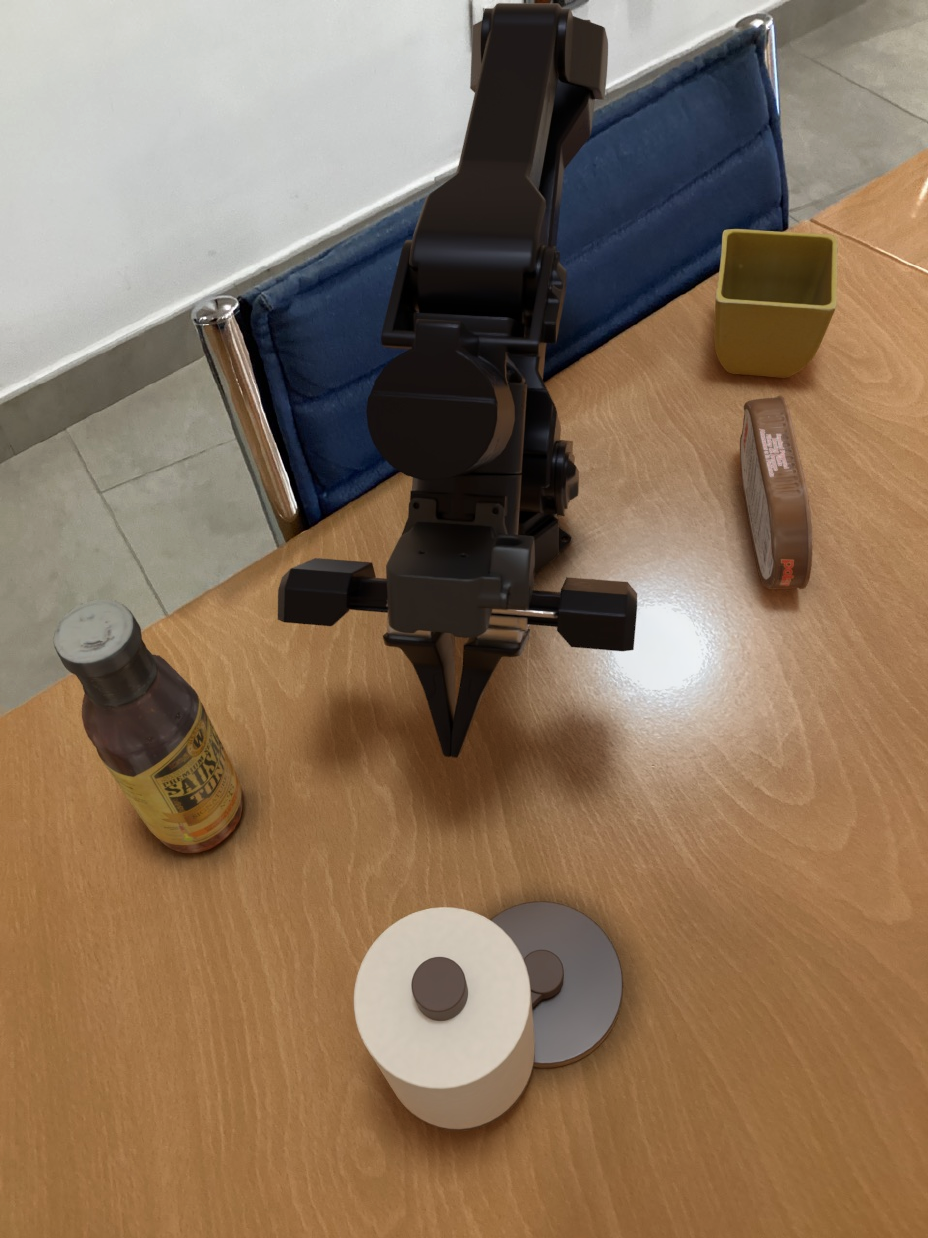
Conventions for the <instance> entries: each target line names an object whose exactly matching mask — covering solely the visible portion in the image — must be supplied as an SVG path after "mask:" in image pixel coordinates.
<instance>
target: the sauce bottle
mask: <svg viewBox="0 0 928 1238" xmlns="http://www.w3.org/2000/svg"><path fill="white" fill-rule="evenodd" d="M53 632H54V633H53V637H52V639H53V640H52V641H53V642H52V643H53V646H54V650H55V652H56V654H57V656H58V657H59V659H60V662H61V663H62V665H63V666H64V668H66V670H67V671H68V672H69V673H71V674H73V675H75V676H76V678H77V679H78V681H79V682H80V684H81V686H82V690H83V692H84V694H83V698H82V703H81V721H82V725H83V728H84V731H85V733H86V735H87V738H88V739H89V740H90V742H91V743H92V745H93V746H94V747H95V749H96V753H97V755H98V757H99V759H100V760H101V761H102V763H103V765H104V766H105V767H106V769H107V770H108V772H109V773H110V774H111V776H112V777H113V779H114V781H115V782H116V784H117V785H118V787H119V788H120V789H121V790H122V792H123V794H124V795H125V797H126V798H127V800H128V801H129V803H130V804H131V806H132V807H133V809H134V810H135V811H136V813H137V815H138V816H139V818H140V819H141V821H142V822H143V824H144V825H145V826H146V828H147V829H148V831H150V833H151V834H152V835H153V836H155V838H156V839H158V840H159V841H160V842H161V843H162V844H163V845H165V846H166V847H167V848H169V849H171V850H173V851H176V852H177V853H184V854H198V853H202V852H205V851H208V850H211V849H213V848H215V847H216V846H218V845H219V844H220V843H222V842H223V841H224V840H225V839H227V838H228V837H229V836H230V835H231V833H232V832H234V831H235V829H236V826H237V825H238V824H239V823H240V821H241V816H242V811H243V801H244V800H243V790H242V785H241V781H240V779H239V776H238V774H237V771H236V770H235V768H234V766H233V764H232V762H231V760H230V758H229V756H228V753H227V751H226V749H225V747H224V745H223V744H222V742H221V739H220V737H219V735H218V733H217V730H216V729H215V726H214V725H213V723H212V722H211V719H210V717H209V715H208V713H207V711H206V708H205V706H204V705H203V703H202V701H201V699H200V697H199V694H198V693H197V692H196V690H195V689H194V688H193V687H192V686H191V684H189V683H188V681H186V680H185V678H183V676H182V675H180V673H178V671H177V670H176V669H175V668H174V667H173V666H171V664H169V662H168V661H167V660H166V659H165V658H163V657H162V656H161V655H158V654H154V653H152V652H151V651H150V650H149V649H148V648H147V646H146V644H145V642H144V640H143V637H142V636H143V635H142V629H141V626H140V624H139V622H138V621H137V619H136V617H135V615H134V614H133V612H132V611H131V610H130V609H129V608H128V607H127V606H126V605H125V604H124V603H121V602H119V601H117V600H116V599H115V600H114V599H108V598H99V599H92V600H89V601H86V602H84V603H80V604H78V605H76V606H75V607H73V608H72V609H70V610H69V611H68V612H67V613H66V614H64V616H62V618H61V619H60V620H59V622H58V625H56V627H55V629H54V631H53Z"/></svg>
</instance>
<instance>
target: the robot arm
mask: <svg viewBox="0 0 928 1238" xmlns="http://www.w3.org/2000/svg"><path fill="white" fill-rule="evenodd" d="M471 35H472V36H471V56H470V81H469V89H470V90H471V91H472V92H473V93H474V95H473V100H472V103H471V109H470V112H469V118H468V122H467V127H466V131H465V135H464V139H463V144H462V149H461V152H460V157H459V162H458V165H457V169H456V172H455V175H454V176H452V177H451V178H450V179H449V180H447V181H446V182H444V183H443V184H441V185H440V186H438V188H436V189H435V190H433V191H432V192H430V193H429V194H428V195H427V196H426V197H425V199H424V201H423V204H422V207H421V210H420V214H419V216H418V219H417V223H416V225H415V228H414V231H413V235H412V239H406V240H405V241H404V242H403V245H402V247H401V252H400V255H399V258H398V259H399V260H398V263H397V268H396V271H395V272H396V273H395V275H394V280H393V284H392V288H391V293H390V296H389V300H388V304H387V309H386V313H385V317H384V321H383V325H382V330H381V334H380V343H381V346H382V347H384V348H387V349H390V350H406V351H404V352H402V353H400V354H398V355H395V357H394V358H393V359H392V360H390V361H389V362H388V363H387V364H386V365H385V366H384V367H383V368H382V370H381V371H380V373H379V375H378V376H377V377H376V378H375V381H374V382H373V385H372V389H371V390H370V393H369V395H368V397H367V403H366V411H365V412H366V421H367V422H366V423H367V429H368V431H369V435H370V438H371V441H372V443H373V444H374V447H375V448H376V450H377V451H378V453H379V454H380V456H381V457H382V458H383V459H384V460H385V461H386V462H387V463H388V464H389V465H390V466H391V467H392V468H393V469H395V470H397V471H398V472H400V473H402V474H403V475H405V476H407V477H411V478H412V483H411V490H410V494H409V495H410V496H409V502H408V513H407V514H408V515H407V519H406V522H405V525H404V526H403V527H404V528H403V529H402V532H401V535H400V537H399V539H398V540H397V542H396V544H395V547H394V548H393V551H392V553H391V554H390V556H389V558H388V561H387V562H386V564H385V575H386V578H384V577H376V573H375V572H376V571H375V567H374V564H373V562H372V561H371V562H370V561H360V560H359V561H357V560H348V559H347V560H346V559H345V560H344V559H335V558H322V557H321V558H320V557H319V558H318V557H314V558H312V559H310V560H307V561H304V562H303V563H300V564H298V565H295V566H293V567H291V568H289V570H288V571H286V572H285V574H284V575H283V576H281V579H280V583H279V586H278V588H277V620H278V621H280V622H283V623H287V624H297V625H298V624H299V625H310V626H321V627H332V626H334V625H335V624H337V623H338V622H339V621H340V620H341V619H342V618H343V617H344V616H345V615H347V614H348V613H349V612H350V611H362V612H372V613H373V612H374V613H387V631H386V632H385V633H384V634H383V635H382V640H383V644H384V645H385V646H387V647H392V648H398V649H400V650H401V651H402V652H403V654H404V655H405V656H406V658H407V659H408V661H409V662H410V663H411V665H412V666H413V669H414V671H415V673H416V675H417V677H418V680H419V682H420V684H421V686H422V689H423V692H424V695H425V699H426V701H427V705H428V708H429V712H430V716H431V719H432V722H433V725H434V729H435V733H436V736H437V739H438V742H439V746H440V749H441V753H442V755H443V757H445V758H453V759H458V758H459V757H460V755H461V752H462V750H463V747H464V745H465V743H466V739H467V738H468V735H469V732H470V730H471V727H472V725H473V722H474V720H475V717H476V714H477V711H478V709H479V707H480V704H481V702H482V699H483V696H484V693H485V692H486V689H487V686H488V684H489V682H490V679H491V677H492V676H493V673H494V672H495V670H496V668H497V666H498V664H499V663H500V660H501V659H502V658H505V657H507V658H516V657H519V656H522V654H523V652H524V649H525V648H526V646H527V643H528V642H529V641H530V636H531V629H530V626H531V625H532V626H541V627H553V628H556V632H557V633H558V634H559V635H560V637H562V639H564V641H565V642H566V643H567V644H568V645H569V646H570V648H578V649H591V650H602V651H613V652H629V651H634V649H635V637H636V629H637V628H636V626H637V613H638V592H636V590H635V589H634V588H633V586H632V585H631V584H630V582H629V581H621V580H605V579H595V578H580V577H570V576H569V577H567V576H566V577H565V579H564V582H563V584H562V586H561V588H560V591H550V590H537V589H534V586H535V585H534V584H535V575H536V574H537V573H539V572H540V571H541V570H543V569H544V568H545V567H546V566H548V565H549V564H551V563H552V562H553V561H555V559H557V558H558V557H559V556H560V554H561V553H562V552H564V551H565V550H566V549H567V548H568V547H570V546H571V545H572V536H571V535H570V533H568V532H567V531H565V530H564V529H563V528H561V527H560V525H559V524H560V523H559V522H560V520H559V518H558V517H565V515H566V510H568V509H569V503H570V502H571V501H572V500H574V499H576V498H577V497H578V496H579V490H580V471H579V469H578V467H577V465H576V464H575V461H576V460H575V459H576V456H575V455H574V454H573V452H574V440H566V439H561V434H562V425H561V422H560V418H559V413H558V410H557V407H556V404H555V403H554V401H553V398H552V397H551V394H550V392H549V390H548V388H547V386H546V384H545V382H544V380H543V379H544V370H545V359H546V351H547V344H554V345H556V344H557V339H558V335H559V329H560V323H561V318H562V313H563V308H564V303H565V298H566V292H567V280H568V276H567V275H568V274H567V269H566V268H565V267H564V266H563V265H562V264H561V251H558V247H557V241H558V231H559V223H560V214H561V202H562V194H563V193H562V192H563V184H564V176H565V175H564V174H565V170H566V168H567V167H568V166H569V164H570V163H571V162H572V160H573V159H574V158H575V157H576V155H577V154H578V153H579V151H580V150H582V148H583V146H584V145H585V144H586V143H587V142H588V140H589V139H590V137H591V135H592V130H593V121H594V120H593V119H594V111H595V104H596V100H605V96H606V90H607V89H606V88H607V78H608V63H609V62H608V61H609V39H608V34H607V31H606V27H604V26H602V25H600V24H597V23H595V22H592V20H591V19H583V18H580V17H577V16H574V14H573V11H572V9H571V8H563V7H562V6H561V5H560V3H552V2H551V3H550V2H549V3H540V2H537V3H535V2H534V3H532V2H530V3H527V2H524V3H523V2H522V3H521V2H515V3H514V2H498V3H496V4H495V6H494V7H493V8H492V7H491V8H489V7H487V8H484V10H483V12H482V19H481V20H480V21H478V22H477V23H475V24H473V25H472V34H471ZM456 638H461V639H467V640H466V641H465V642H464V643H463V645H462V647H463V648H462V649H463V650H462V669H461V675H460V680H459V686H458V691H457V689H456V688H457V687H456V640H455V639H456ZM457 692H458V693H457Z"/></svg>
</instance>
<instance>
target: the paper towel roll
mask: <svg viewBox="0 0 928 1238" xmlns="http://www.w3.org/2000/svg"><path fill="white" fill-rule="evenodd" d="M563 981H564V968H563V965H562V962H561V960H560V959H559V958H558V957H557V956H556V955H555V954H554V953H552V952H550V951H547V950H536V951H533V952H531V953H529V954H528V955H527V956H526V957H525V958H524V960H523V957H522V955H521V953H520V952H519V950H518V948H517V946H516V945H515V944H514V942H513V941H512V939H511V938H510V937H509V936H508V935H507V934H506V933H505V932H504V931H503V930H502V929H501V928H500V927H499V926H498V925H496V924H495V923H494V922H492V921H491V919H489V918H487V917H486V916H484V915H482V914H479V913H477V912H475V911H472V910H469V909H464V908H459V907H452V906H451V907H450V906H439V907H429V908H426V909H422V910H417V911H415V912H412V913H410V914H408V915H406V916H404V917H402V918H400V919H398V920H397V921H395V922H394V923H393V924H391V925H390V926H388V927H387V928H386V929H385V930H384V931H383V932H382V933H381V934H380V935H378V937H377V938H376V939H375V940H374V942H373V943H372V944H371V946H370V947H369V948H368V950H367V951H366V954H365V955H364V957H363V959H362V961H361V963H360V966H359V969H358V971H357V974H356V978H355V984H354V990H353V1013H354V1019H355V1023H356V1027H357V1030H358V1034H359V1036H360V1038H361V1041H362V1043H363V1045H364V1046H365V1048H366V1049H367V1051H368V1053H369V1054H370V1056H371V1057H372V1059H373V1061H374V1062H375V1064H376V1065H377V1067H378V1069H379V1071H380V1072H381V1073H382V1075H383V1077H384V1078H385V1080H386V1081H387V1083H388V1084H389V1086H390V1088H391V1090H392V1091H393V1093H394V1094H395V1096H396V1098H397V1099H398V1101H399V1102H400V1103H401V1105H403V1106H404V1108H405V1109H406V1110H407V1111H408V1112H409V1113H410V1114H411V1115H412V1116H414V1117H415V1118H417V1120H419V1121H421V1122H423V1123H424V1124H426V1125H429V1127H433V1128H435V1129H439V1130H443V1131H449V1132H467V1131H474V1130H477V1129H482V1128H484V1127H486V1126H489V1125H492V1124H493V1123H495V1122H497V1121H498V1120H500V1119H501V1118H502V1117H504V1116H505V1115H507V1113H509V1112H510V1110H511V1109H513V1107H515V1105H517V1103H518V1102H519V1100H521V1098H522V1096H523V1094H524V1093H525V1091H526V1089H527V1087H528V1085H529V1082H530V1080H531V1077H532V1074H533V1070H534V1067H533V1066H534V1059H535V1040H534V1027H533V1015H532V1008H533V1007H534V1006H535V1005H536V1004H537V1003H538V1002H539V1001H540V1000H541V999H547V998H550V997H552V996H554V995H556V994H557V993H558V992H559V990H560V989H561V987H562V985H563Z"/></svg>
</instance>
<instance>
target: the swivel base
mask: <svg viewBox="0 0 928 1238" xmlns="http://www.w3.org/2000/svg"><path fill="white" fill-rule="evenodd" d="M490 920H491V921H492V922H494V923H495V924H496V925H498V926H499V927H500V928H501V929H502V930H503V931H504V932H505V933H506V934H507V935H508V936H509V937H510V938H511V939H512V941H513V942H514V944H515V945H516V946H517V948H518V950H519V952H520V953H521V955H522V957H523V960H524V958H525V957H526V956H527V955H528V954H529V953H531V952H533V951H536V950H547V951H550V952H552V953H554V954H555V955H556V956H557V957H558V958H559V959H560V960H561V962H562V965H563V968H564V981H563V985H562V987H561V989H560V990H559V992H558V993H557V994H556V995H554V996H552V997H550V998H547V999H541V1000H540V1001H539V1002H538V1003H537V1004H536V1005H535V1006H534V1007H533V1008H532V1015H533V1027H534V1040H535V1059H534V1066H533V1068H539V1069H551V1068H559V1067H564V1066H568V1065H571V1064H573V1063H575V1062H578V1061H579V1060H582V1059H584V1058H585V1057H586V1056H588V1055H590V1054H592V1052H594V1051H595V1050H596V1049H597V1048H598V1047H599V1046H600V1045H601V1044H602V1043H603V1042H604V1041H605V1040H606V1039H607V1037H608V1035H609V1034H610V1033H611V1031H612V1030H613V1028H614V1026H615V1024H616V1022H617V1019H618V1016H619V1014H620V1013H619V1012H620V1010H621V1006H622V1001H623V994H624V977H623V976H624V975H623V969H622V963H621V960H620V958H619V955H618V952H617V950H616V948H615V946H614V944H613V942H612V940H611V939H610V937H609V936H608V934H607V933H606V931H604V929H603V928H602V927H601V926H600V925H599V924H598V923H597V922H595V920H594V919H592V918H591V917H589V916H588V915H587V914H585V913H584V912H582V911H580V910H578V909H576V908H574V907H572V906H569V905H566V904H563V903H559V902H554V901H545V900H542V901H539V900H538V901H529V902H523V903H519V904H515V905H513V906H511V907H509V908H506V909H504V910H503V911H501V912H499V913H498V914H496V915H494V916H493V917H492V918H491V919H490Z"/></svg>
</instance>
